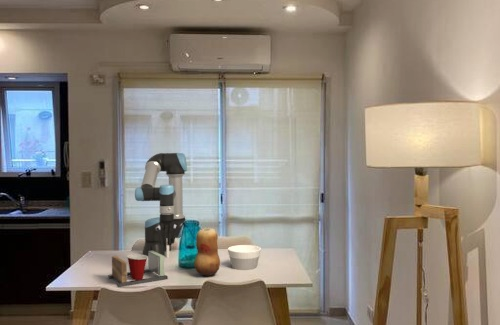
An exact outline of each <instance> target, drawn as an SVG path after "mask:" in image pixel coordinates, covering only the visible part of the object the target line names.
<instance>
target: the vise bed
mask: <svg viewBox="0 0 500 325" xmlns="http://www.w3.org/2000/svg"><path fill="white" fill-rule="evenodd" d="M151 273H154V272H153V271H151V270H149V269H148V268H147V269H146V268H145V270H144V275H146V274H151ZM107 276H108V277H107V278H108V280H112V279H113V280H114V281H116V283H118V284H117V285H118V287H119V288H121V287H129V286H135V285H140V284H145V283H151V282H158V281H165V280H168V278H169V277H168V275H166V274H164V275H162V276H160V275H158V276H152V277H145V278H143V279H139V280H133V279H132V280H128V277H131V273H130V271H128V262H127V261H125V260H124V259H123V258H121V257H119V256H118V255H112V256H111V274H109V275H107ZM127 280H128V281H127Z"/></svg>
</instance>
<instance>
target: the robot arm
mask: <svg viewBox="0 0 500 325" xmlns="http://www.w3.org/2000/svg"><path fill="white" fill-rule="evenodd" d="M144 165H145V166H144V170H145V171H144V175H143V178H142V181H141V185H140V187H135V190H134V198H135V201H137V202H150V201H151V202H159V213H160V214H159V217H152V218H149V219H147V220H145V221H144V246H143V247H142V248H143V249H142V254H141V255H146V256H148V253H149V251H155V252H157V253H159V254H161V255H163V256H164V258H166V259H169V258H170V252H171V250H172V248H171V247H172V244H175V240H176V239H181V238H180V237H181V233H182V229H183V222H185V221H187V222H188V219H186V216H185V214H184V211H183V209H184V206H183V202H184V201H183V177H184V176H185V173H186V172H187V171H188V165H187V158H186V155H185V154H184V153H183V152H182V153H180V152H159V153H157V154H154V155H152V156H151V157H150V158H149V159H148V160H147V161H146V162H145V164H144ZM160 172H165V174H166V176H167V177H168V184H161V185H160V186H159V187H155V186H156V183H157V178H158V175H159V173H160Z"/></svg>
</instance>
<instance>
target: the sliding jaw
mask: <svg viewBox="0 0 500 325" xmlns="http://www.w3.org/2000/svg"><path fill="white" fill-rule="evenodd" d="M147 261H148V262H147V264H148V266H147V267H148V268H147V269H149V270H151V271H153V272H152V273H155V274H156V275H158V276H164V275H165V255H164V256H163V255H161V254H159V253H157V252H155V251H149V253H148V258H147Z"/></svg>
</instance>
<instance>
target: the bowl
mask: <svg viewBox="0 0 500 325" xmlns="http://www.w3.org/2000/svg"><path fill="white" fill-rule="evenodd" d="M227 252H228V256H229V259H230V265H231V268H232V269H234V270H238V271H250V270H255V269H257V267H258V263H259V259H260V256H261V252H262V248H261V246H258V245H254V244H238V245H231V246H229V247H228V248H227Z"/></svg>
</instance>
